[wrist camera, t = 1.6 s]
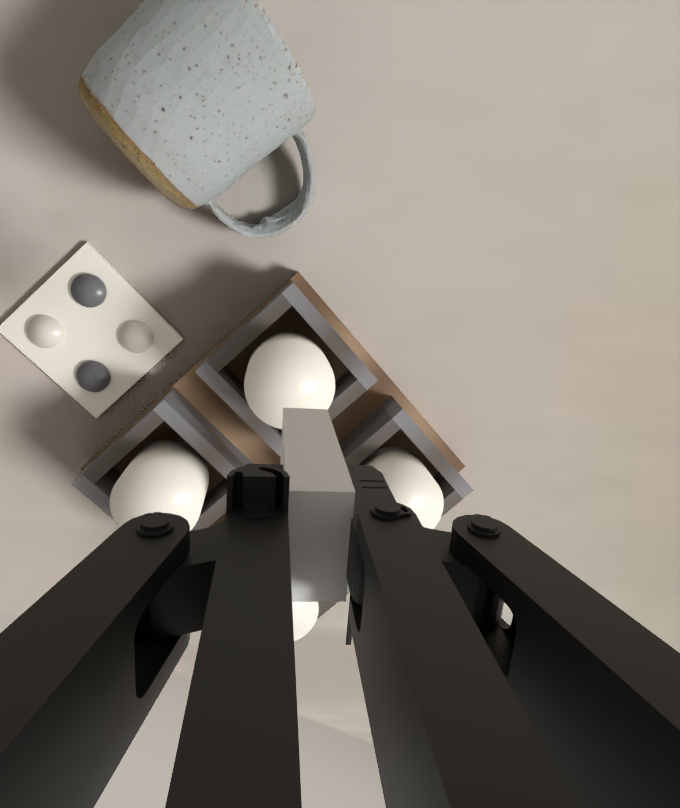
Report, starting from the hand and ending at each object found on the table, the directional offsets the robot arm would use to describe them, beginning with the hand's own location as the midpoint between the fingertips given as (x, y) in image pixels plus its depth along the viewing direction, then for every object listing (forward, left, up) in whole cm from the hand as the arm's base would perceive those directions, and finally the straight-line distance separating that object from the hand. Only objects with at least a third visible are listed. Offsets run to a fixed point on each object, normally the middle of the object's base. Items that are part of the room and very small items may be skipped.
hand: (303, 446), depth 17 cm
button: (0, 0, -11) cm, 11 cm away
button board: (+4, -4, -14) cm, 15 cm away
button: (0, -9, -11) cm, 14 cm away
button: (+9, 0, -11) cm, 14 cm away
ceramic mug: (-11, +6, -14) cm, 19 cm away
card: (-9, -7, -14) cm, 18 cm away
